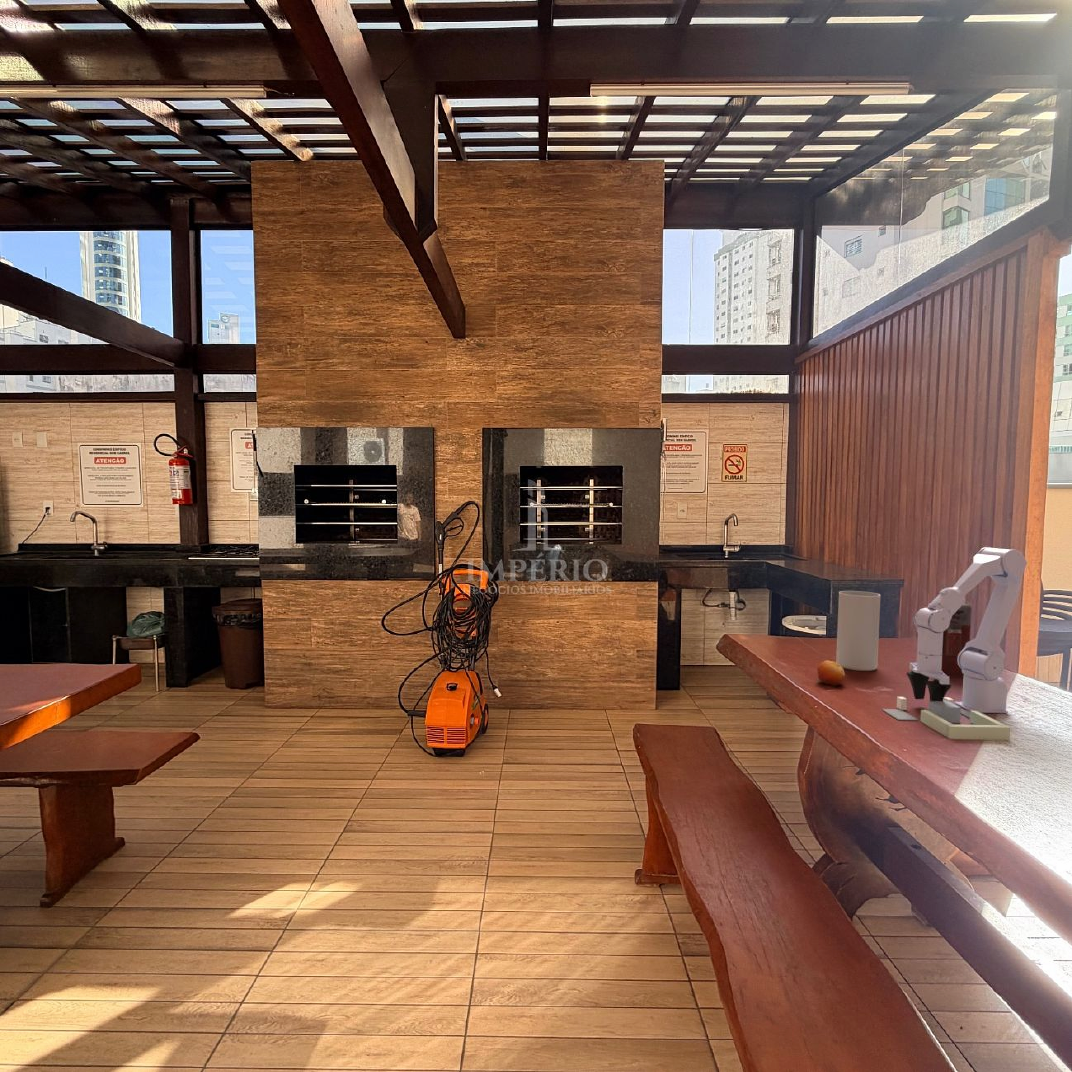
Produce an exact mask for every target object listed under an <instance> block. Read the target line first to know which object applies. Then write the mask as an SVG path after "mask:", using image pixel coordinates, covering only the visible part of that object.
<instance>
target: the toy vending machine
mask: <svg viewBox="0 0 1072 1072" xmlns="http://www.w3.org/2000/svg"><path fill="white" fill-rule="evenodd" d="M933 600H934V599H933ZM933 600H930V601H929V603H928V605H929V604H930V603H931V602H932V601H933ZM971 623H972V606H971V605H969V604H967V603H964V604H963V605H962V606H961V607H960V608H959V609H958V610H957V611H956V612H955V613H954V614H953V615H952V617H951V620H950V624H949V627H948V628H947V629H946V630H945V631H943V647H942V667H941V671H942V672H943V673H944V674H945V675H946V676H948V677H949V678H950V677H951V678H963V677H964V673H962V669H961V668H960V667H959V665H958V662H957V658H958V655H959V653H960V652H961V651H962V650H963V649H964V647H965V645H966V643H967V642H969V641H971V627H972V624H971Z"/></svg>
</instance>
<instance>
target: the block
mask: <svg viewBox="0 0 1072 1072" xmlns="http://www.w3.org/2000/svg"><path fill="white" fill-rule="evenodd" d="M961 710H962V707H961V706H959V705H957V704H955V703H954V702H953V703H951V702H948V701H930V700H929V701H928V711H930V712H931V713H933V714H935V715H937V716H939V717H940V718H942V719H944V720H946V721H948V722H950V723H951V724H957V723H958V724H960V723H961V715H962V714H961Z"/></svg>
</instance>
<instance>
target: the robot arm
mask: <svg viewBox="0 0 1072 1072" xmlns="http://www.w3.org/2000/svg"><path fill="white" fill-rule="evenodd" d="M972 559H973V560H972V561H973V562H972V563H971V564H970V566H969V567H968V568H967V569H966V570H965V572H963V574H962V576H961V577H960V578H958V580H957V581H956V583H955V584H954V585H953V586H952V587H945V588H944V589H943V588H942V589H941V590H940V591H939V594H938V595H937V596H936V597H935V598H934V599H933V601H932V600H931V601H932V602H931V603H930V602H929V603H930V604H929V603H928V604H927V607H923V608H920V609H919V610H918V611H917V612H916V613H915V616H914V617H913V618H912V620H913V623H914V625H915V626H916V627H915V628H916V633H917V648H916V649H917V651H916V662H909V670H910V671H907V672H906V675H907V677H908V679H909V682H910V684H911V687H912V692H913V696H914V699H915V700H924V699H925V695H926V688H928V693H929V701H943V699H944V697H946V694H947V693H948V692H949V690H950V689H951V688H952V684H951V683H950V677H948V676H946V675H945V674H944V673H943V672H942V671H941V667H942V647H943V631H945V630H946V629H947V628H948V627H949V624H950V620H951V617H952V615H953V614H954V613H955V612H956V611H957V610H958V609H959V608H960V607H961V606H962V605H963V604H966V595H967V594H968V593H969V592H971V591H972V590H973V589H974V588H975V587H976V586H977V585H979V584H980V582H982V581H983V580H984V579H985V578H986V577H990V578H991V579H992V581H993V583H994V587H993V590H992V593H991V595H990V599H989V601H988V604H987V606H986V610H985V612H984V614H983V617H982V620H981V622H980V624H979V625H980V626H979V628H978V631H977V633H976V636H975V638H973V639H970V641H969V642H967V643H966V645H965V647H964V649H963V650H962V651H961V652H960V653H959V655H958V658H957V662H958V665H959V667H960V668H961V669H962V673H964V677H962V678H963V679H962V680H963V681H962V682H963V683H962V699H961V701H954V704H955V705H957V706H959V707H961V708H962V709H964V710H970V711H978V712H980V713H982V714H987V713H990V714H991V713H993V714H996V713H997V714H1008V712H1009V711H1008V710H1007V698H1008V697H1007V693H1008V688H1007V684H1006V682H1005V680H1004V679H1003V678H1002V677H1001V676H1002V674H1003V672H1004V670H1005V658H1006V656H1007V655H1006V653H1005V652H1004V650H1003V649H1002V648H1001V646H1000V644H1001V642H1002V639H1003V636H1004V634H1005V631H1006V628H1007V626H1008V623H1009V621H1010V618H1011V614H1012V612H1013V609H1014V607H1015V604H1016V602H1017V599H1018V597H1019V593H1020V591H1021V587H1022V585H1023V575H1024V572H1025V570H1026V567H1027V565H1028V561H1027V560H1026V558H1025V556H1024V554H1023V553H1022V551H1020V550H1018V549H1007V548H996V547H992V546H991V547H990V546H984V547H982V548H980V550H978V552H977V553H976V554H975V555H974V556H973V557H972ZM929 679H932V680H929Z"/></svg>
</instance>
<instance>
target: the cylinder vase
mask: <svg viewBox="0 0 1072 1072" xmlns="http://www.w3.org/2000/svg"><path fill="white" fill-rule="evenodd" d="M837 608H838V610H837V611H838V612H837V633H836V634H837V635H836V654H835V655H836V656H835V657H836V658H835V659H836V660H835V662H836V663H837V664H839V665H840V666H841V667H842V668H843V669H846V670H852V671H857V672H858V671H860V672H872V671H875V670H877V668H878V659H879V642H880V641H879V636H880V635H879V634H880V616H881V615H880V614H881V613H880V612H881V594H880V593H876V592H870V591H862V590H860V591H858V590H841V591H839V592H838V607H837Z"/></svg>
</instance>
